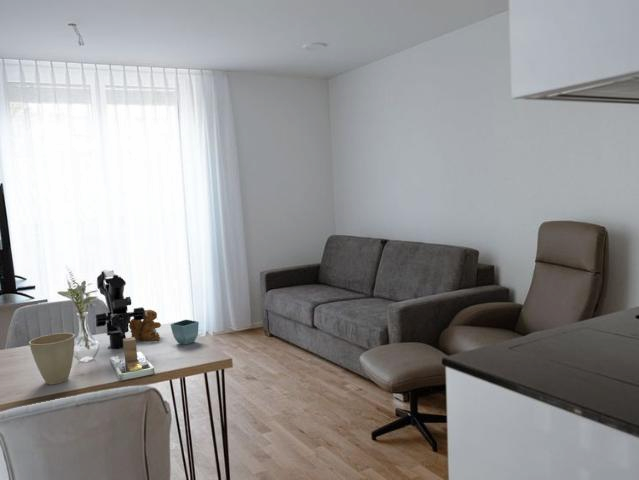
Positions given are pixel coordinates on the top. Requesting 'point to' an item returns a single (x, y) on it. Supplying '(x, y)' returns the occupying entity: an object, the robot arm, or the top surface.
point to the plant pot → (54, 356)
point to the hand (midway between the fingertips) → (123, 334)
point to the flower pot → (185, 331)
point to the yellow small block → (134, 367)
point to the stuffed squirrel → (145, 327)
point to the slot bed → (121, 362)
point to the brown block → (130, 352)
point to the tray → (135, 372)
